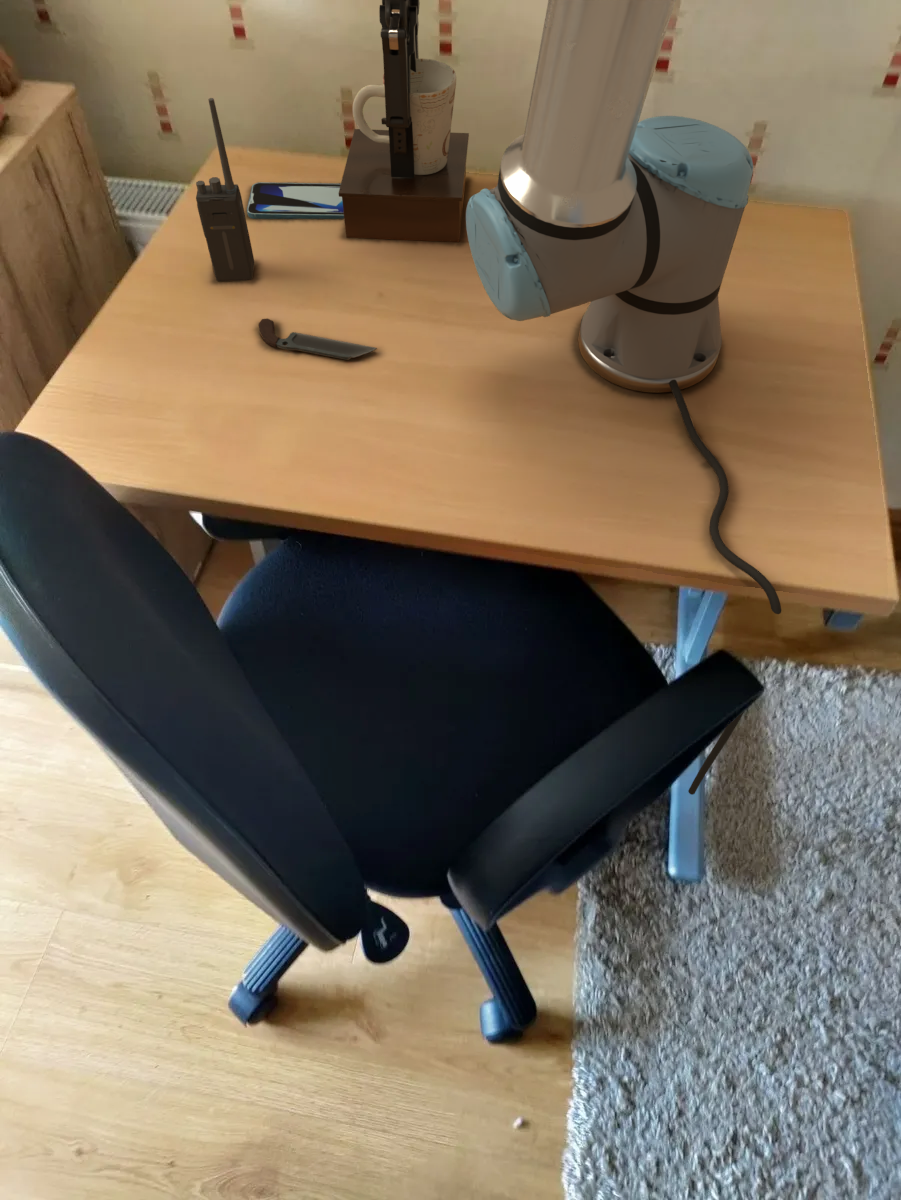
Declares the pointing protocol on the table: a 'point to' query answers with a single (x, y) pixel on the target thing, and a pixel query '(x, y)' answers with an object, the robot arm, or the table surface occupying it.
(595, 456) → the table surface
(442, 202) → the stand
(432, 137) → the mug
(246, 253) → the walkie-talkie
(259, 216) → the smartphone
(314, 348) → the knife
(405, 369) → the table surface
